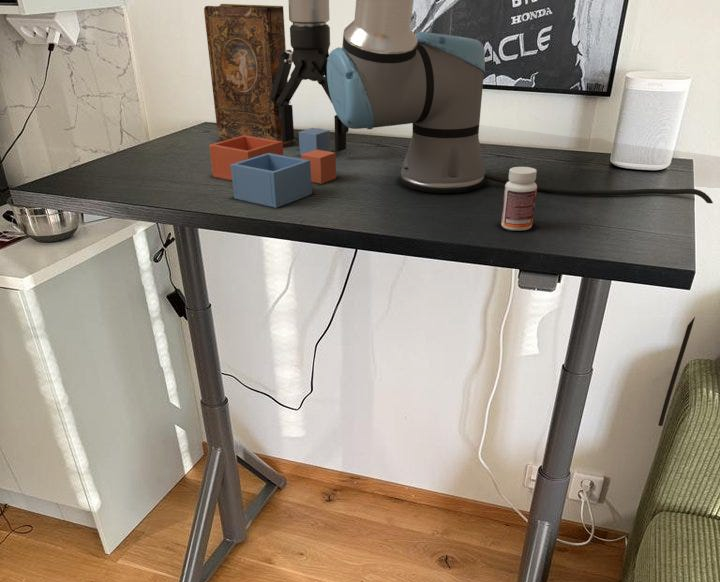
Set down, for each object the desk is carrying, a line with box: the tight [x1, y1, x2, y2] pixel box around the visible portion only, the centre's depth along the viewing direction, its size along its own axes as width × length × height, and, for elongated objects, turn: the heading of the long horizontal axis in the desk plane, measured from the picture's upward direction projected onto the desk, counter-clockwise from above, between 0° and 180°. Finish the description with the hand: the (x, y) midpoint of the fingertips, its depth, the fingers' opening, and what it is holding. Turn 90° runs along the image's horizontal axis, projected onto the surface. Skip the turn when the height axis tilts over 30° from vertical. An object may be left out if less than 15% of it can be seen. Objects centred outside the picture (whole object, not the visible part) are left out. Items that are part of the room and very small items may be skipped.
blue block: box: [298, 127, 331, 157], centre depth 148 cm, size 4×4×4 cm
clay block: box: [300, 150, 337, 185], centre depth 134 cm, size 4×4×4 cm
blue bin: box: [231, 153, 313, 209], centre depth 125 cm, size 10×10×6 cm
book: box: [203, 3, 292, 148], centre depth 152 cm, size 16×6×25 cm, turn 63°
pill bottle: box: [500, 166, 538, 232], centre depth 110 cm, size 5×5×8 cm
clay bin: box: [208, 135, 285, 182], centre depth 136 cm, size 10×10×6 cm
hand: (314, 145), depth 149 cm, fingers open, 13 cm apart
